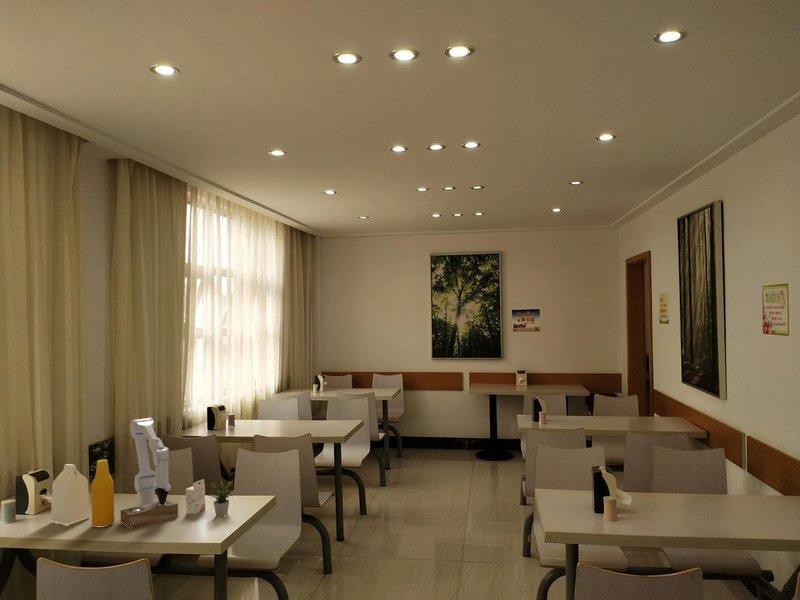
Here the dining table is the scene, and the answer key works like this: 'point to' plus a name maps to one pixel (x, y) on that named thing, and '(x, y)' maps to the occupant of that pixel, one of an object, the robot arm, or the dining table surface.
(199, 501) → the ink cartridge box
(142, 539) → the dining table surface
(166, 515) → the walnut block
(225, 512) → the house plant
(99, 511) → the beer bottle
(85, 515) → the milk
